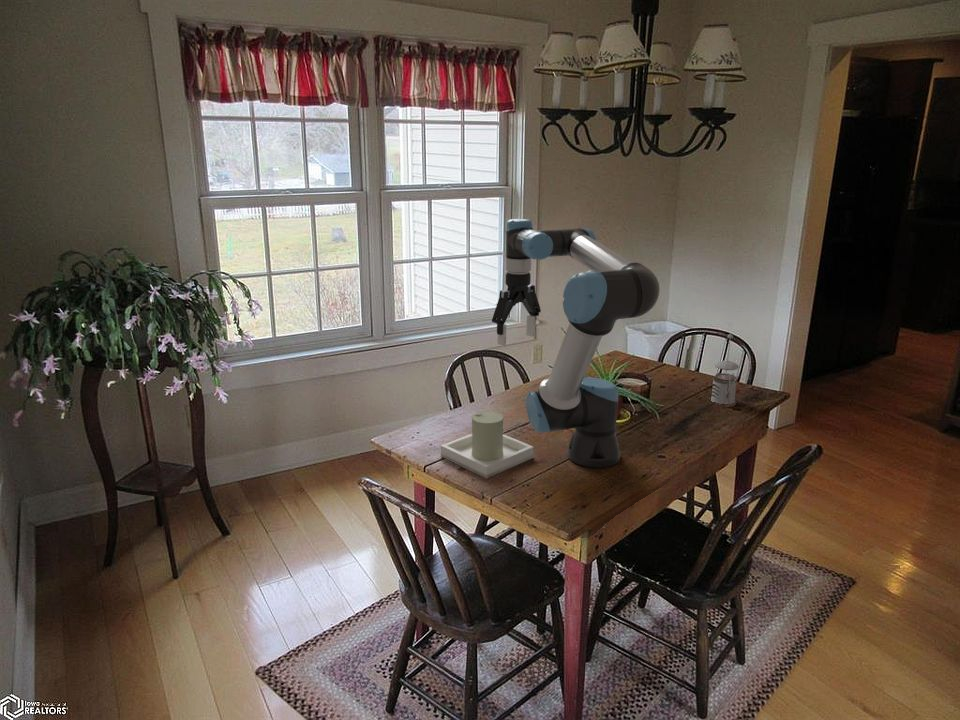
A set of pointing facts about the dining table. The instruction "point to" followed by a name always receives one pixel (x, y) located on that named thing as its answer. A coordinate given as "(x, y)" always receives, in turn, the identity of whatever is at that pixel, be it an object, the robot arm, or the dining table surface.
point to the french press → (724, 382)
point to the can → (487, 435)
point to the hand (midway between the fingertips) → (516, 340)
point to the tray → (462, 456)
